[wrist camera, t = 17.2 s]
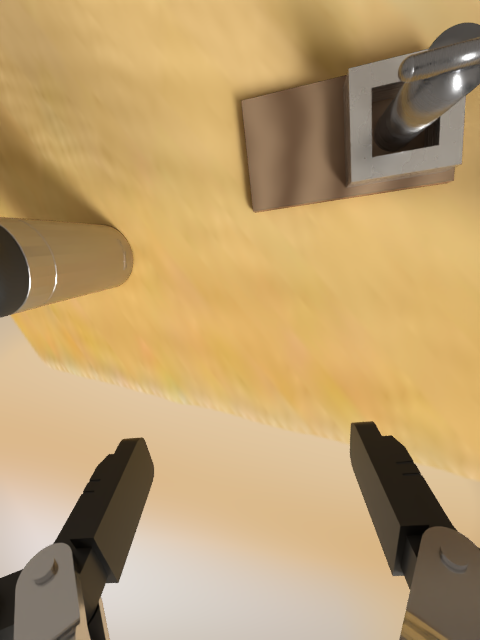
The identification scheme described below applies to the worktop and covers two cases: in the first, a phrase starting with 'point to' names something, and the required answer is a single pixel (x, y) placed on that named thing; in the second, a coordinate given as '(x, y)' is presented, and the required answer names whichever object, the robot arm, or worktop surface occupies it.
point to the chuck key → (431, 85)
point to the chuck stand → (342, 141)
